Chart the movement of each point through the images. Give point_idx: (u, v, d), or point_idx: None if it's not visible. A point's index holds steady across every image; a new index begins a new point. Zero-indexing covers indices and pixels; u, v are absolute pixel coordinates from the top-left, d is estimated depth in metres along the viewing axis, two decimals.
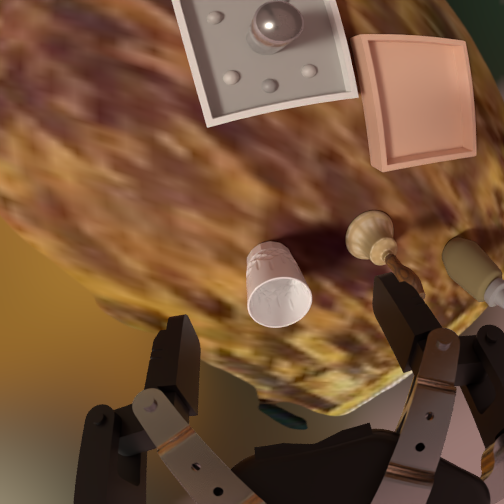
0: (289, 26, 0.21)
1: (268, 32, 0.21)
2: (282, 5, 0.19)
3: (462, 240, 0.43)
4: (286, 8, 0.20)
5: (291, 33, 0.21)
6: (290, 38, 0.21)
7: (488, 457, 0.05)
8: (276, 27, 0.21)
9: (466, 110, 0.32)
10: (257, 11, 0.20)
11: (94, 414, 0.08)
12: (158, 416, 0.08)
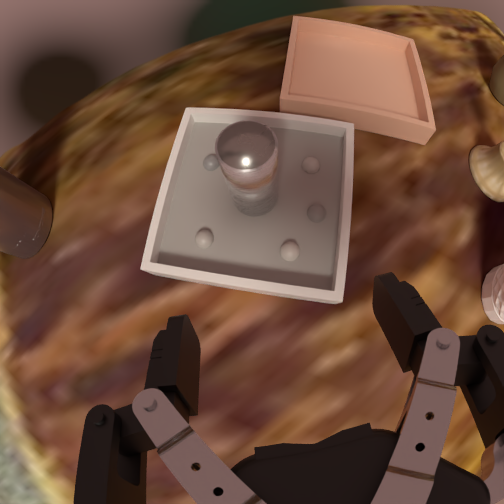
0: (257, 135, 0.20)
1: (256, 159, 0.20)
2: (226, 134, 0.20)
3: (493, 79, 0.30)
4: (231, 131, 0.20)
5: (266, 137, 0.20)
6: (274, 140, 0.20)
7: (488, 457, 0.05)
8: (253, 150, 0.20)
9: (367, 36, 0.33)
10: (222, 162, 0.20)
11: (94, 414, 0.08)
12: (158, 415, 0.08)
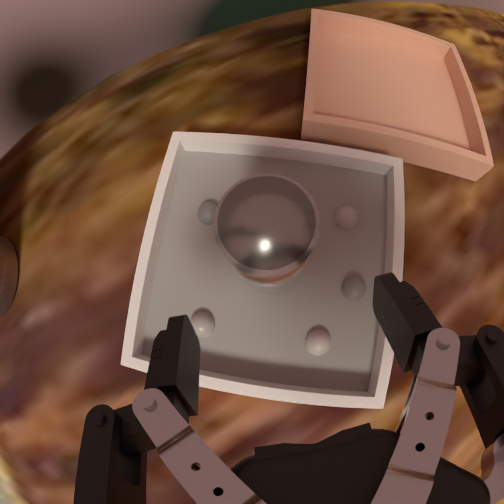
0: (285, 205, 0.12)
1: (286, 252, 0.12)
2: (232, 201, 0.13)
3: None
4: (241, 195, 0.13)
5: (301, 208, 0.12)
6: (314, 214, 0.12)
7: (488, 457, 0.05)
8: (279, 233, 0.12)
9: (402, 37, 0.25)
10: (228, 255, 0.12)
11: (94, 414, 0.08)
12: (158, 416, 0.08)
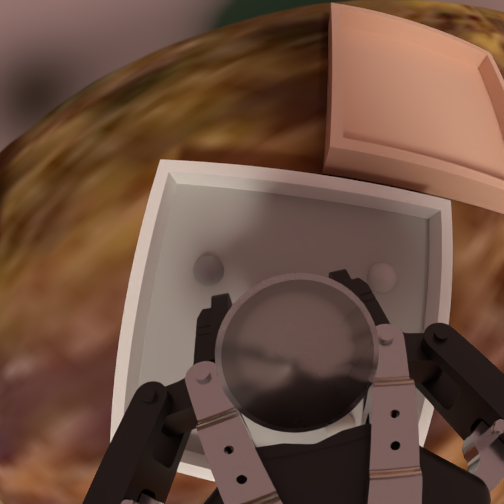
0: (330, 332, 0.07)
1: (327, 404, 0.07)
2: (244, 322, 0.08)
3: None
4: (260, 314, 0.08)
5: (355, 335, 0.07)
6: (373, 344, 0.07)
7: (470, 449, 0.05)
8: (319, 373, 0.07)
9: (434, 41, 0.20)
10: (239, 405, 0.07)
11: (145, 390, 0.09)
12: (208, 390, 0.08)
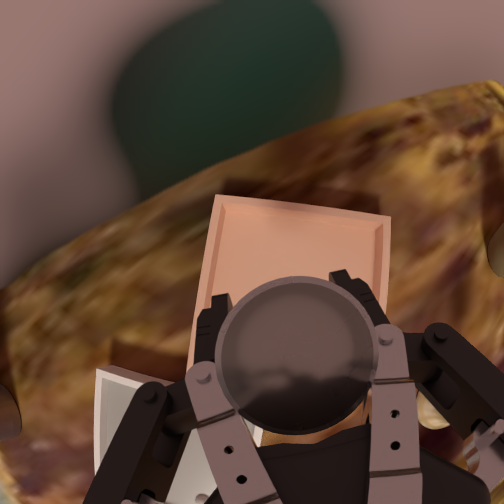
0: (330, 335, 0.07)
1: (326, 407, 0.07)
2: (244, 325, 0.08)
3: (494, 249, 0.28)
4: (260, 318, 0.08)
5: (354, 338, 0.07)
6: (373, 347, 0.07)
7: (470, 449, 0.05)
8: (318, 376, 0.07)
9: (322, 218, 0.30)
10: (239, 408, 0.07)
11: (145, 390, 0.09)
12: (208, 390, 0.08)
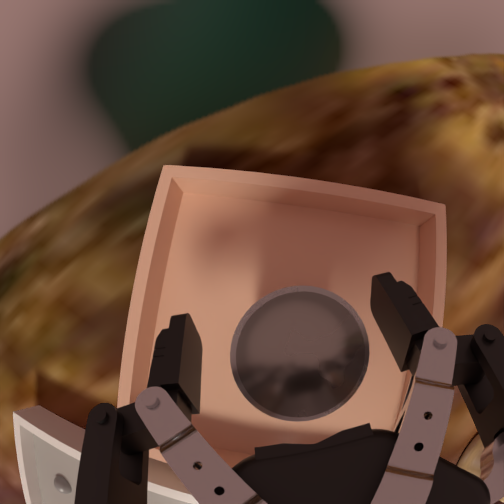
0: (328, 335, 0.09)
1: (325, 397, 0.08)
2: (255, 327, 0.09)
3: None
4: (268, 321, 0.09)
5: (348, 338, 0.09)
6: (364, 346, 0.09)
7: (487, 456, 0.05)
8: (318, 370, 0.09)
9: (337, 203, 0.18)
10: (251, 398, 0.09)
11: (96, 412, 0.08)
12: (161, 414, 0.08)
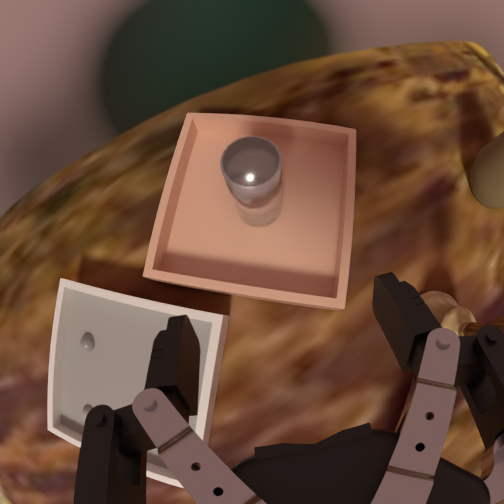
0: (262, 152, 0.21)
1: (261, 176, 0.20)
2: (231, 150, 0.21)
3: (474, 173, 0.27)
4: (236, 147, 0.21)
5: (271, 153, 0.21)
6: (278, 156, 0.21)
7: (488, 457, 0.05)
8: (258, 166, 0.21)
9: (287, 131, 0.30)
10: (228, 179, 0.21)
11: (94, 414, 0.08)
12: (158, 416, 0.08)
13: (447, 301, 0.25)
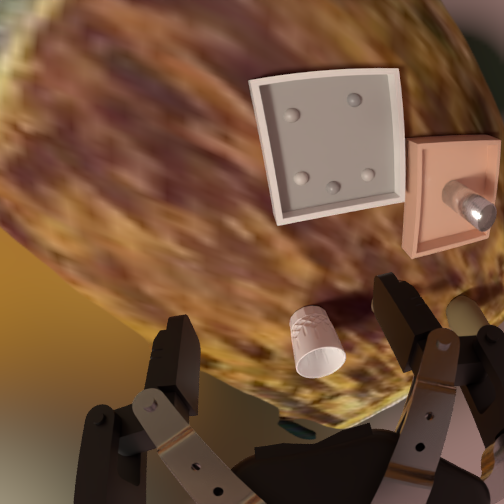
0: (490, 221, 0.32)
1: (481, 225, 0.32)
2: (491, 207, 0.31)
3: (465, 300, 0.51)
4: (492, 209, 0.31)
5: (489, 226, 0.33)
6: (487, 229, 0.33)
7: (488, 457, 0.05)
8: (484, 222, 0.32)
9: None
10: (481, 211, 0.31)
11: (94, 414, 0.08)
12: (158, 415, 0.08)
13: None
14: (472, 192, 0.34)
